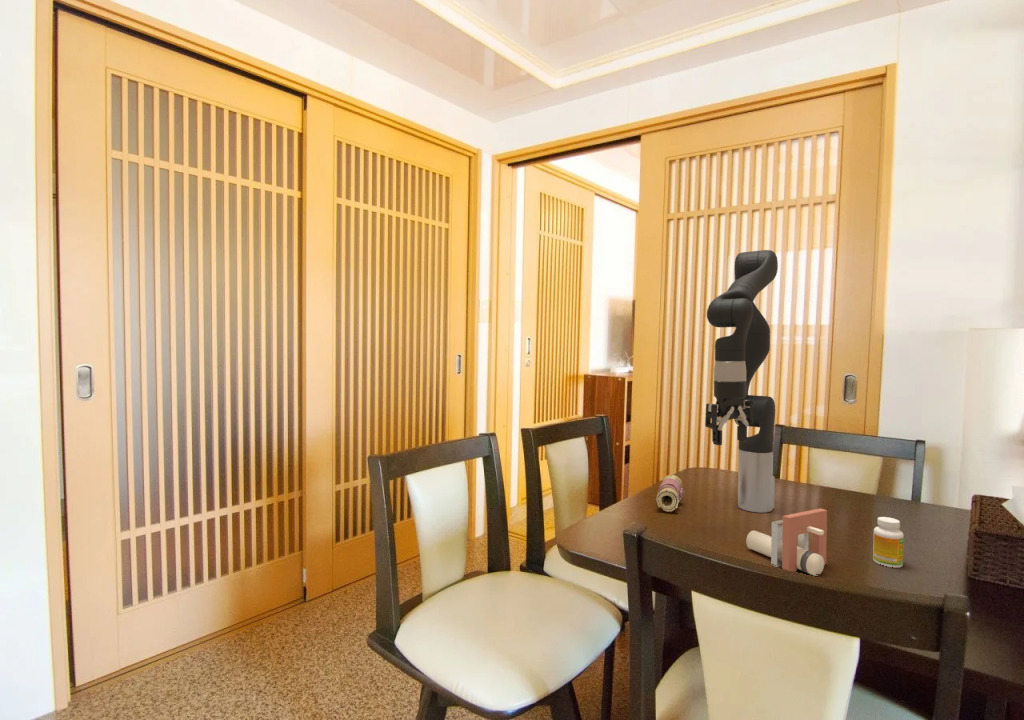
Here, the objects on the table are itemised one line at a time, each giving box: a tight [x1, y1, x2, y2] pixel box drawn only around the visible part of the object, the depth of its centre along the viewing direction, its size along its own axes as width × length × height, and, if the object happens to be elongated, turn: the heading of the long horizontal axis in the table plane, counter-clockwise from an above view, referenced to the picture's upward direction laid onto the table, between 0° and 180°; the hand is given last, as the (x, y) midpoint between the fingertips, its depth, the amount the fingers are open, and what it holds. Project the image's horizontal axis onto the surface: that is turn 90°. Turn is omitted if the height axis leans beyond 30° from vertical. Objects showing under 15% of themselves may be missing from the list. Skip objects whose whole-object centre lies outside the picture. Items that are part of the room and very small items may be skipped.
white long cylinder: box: [745, 530, 825, 577], centre depth 116 cm, size 16×5×5 cm
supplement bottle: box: [872, 516, 905, 569], centre depth 115 cm, size 5×5×10 cm
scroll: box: [655, 474, 686, 513], centre depth 158 cm, size 8×8×20 cm
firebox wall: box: [781, 507, 828, 571], centre depth 111 cm, size 12×4×12 cm, turn 115°
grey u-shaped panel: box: [770, 519, 810, 568], centre depth 116 cm, size 10×2×10 cm, turn 115°
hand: (729, 442), depth 132 cm, fingers open, 8 cm apart
